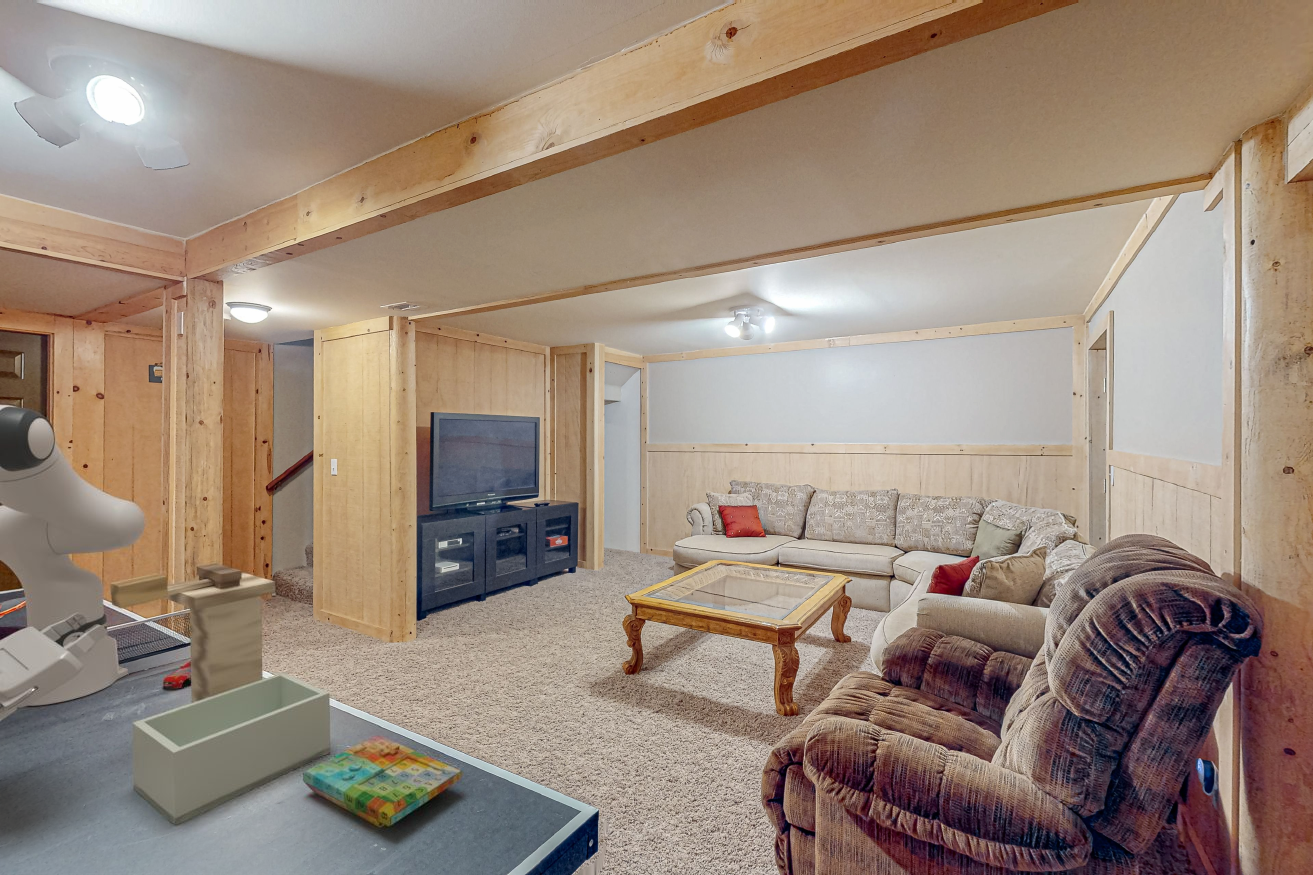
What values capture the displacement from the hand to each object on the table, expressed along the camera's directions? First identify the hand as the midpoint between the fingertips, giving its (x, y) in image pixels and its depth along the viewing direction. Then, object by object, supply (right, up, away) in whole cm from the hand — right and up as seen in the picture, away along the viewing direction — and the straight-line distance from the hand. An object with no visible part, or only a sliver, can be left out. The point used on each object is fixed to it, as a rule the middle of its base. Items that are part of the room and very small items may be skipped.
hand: (93, 621), depth 91 cm
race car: (-12, -24, +36) cm, 45 cm away
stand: (+9, -24, +15) cm, 29 cm away
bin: (+21, -24, +2) cm, 32 cm away
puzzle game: (+47, -24, -5) cm, 53 cm away
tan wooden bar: (+6, +2, +9) cm, 11 cm away
